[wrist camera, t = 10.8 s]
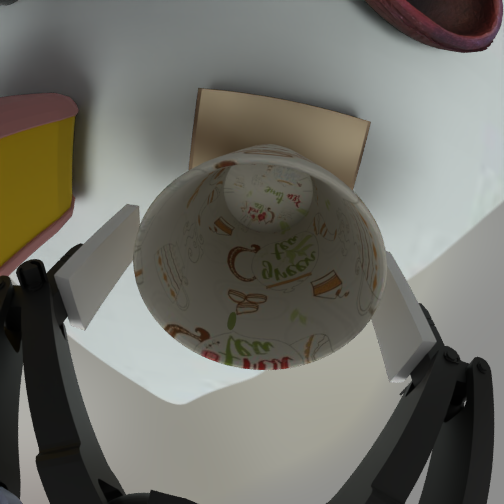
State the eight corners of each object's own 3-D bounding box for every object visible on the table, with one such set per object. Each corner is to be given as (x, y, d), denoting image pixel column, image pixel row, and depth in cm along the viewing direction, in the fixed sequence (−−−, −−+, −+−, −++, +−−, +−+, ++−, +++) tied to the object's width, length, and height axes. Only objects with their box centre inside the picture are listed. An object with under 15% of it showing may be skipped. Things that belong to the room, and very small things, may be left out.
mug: (352, 149, 15) (432, 213, 7) (290, 305, 22) (291, 421, 13) (218, 110, 15) (141, 127, 6) (186, 279, 21) (140, 387, 13)
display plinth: (209, 89, 18) (193, 87, 14) (358, 118, 18) (375, 123, 14) (191, 271, 26) (179, 298, 22) (307, 292, 26) (310, 322, 23)
